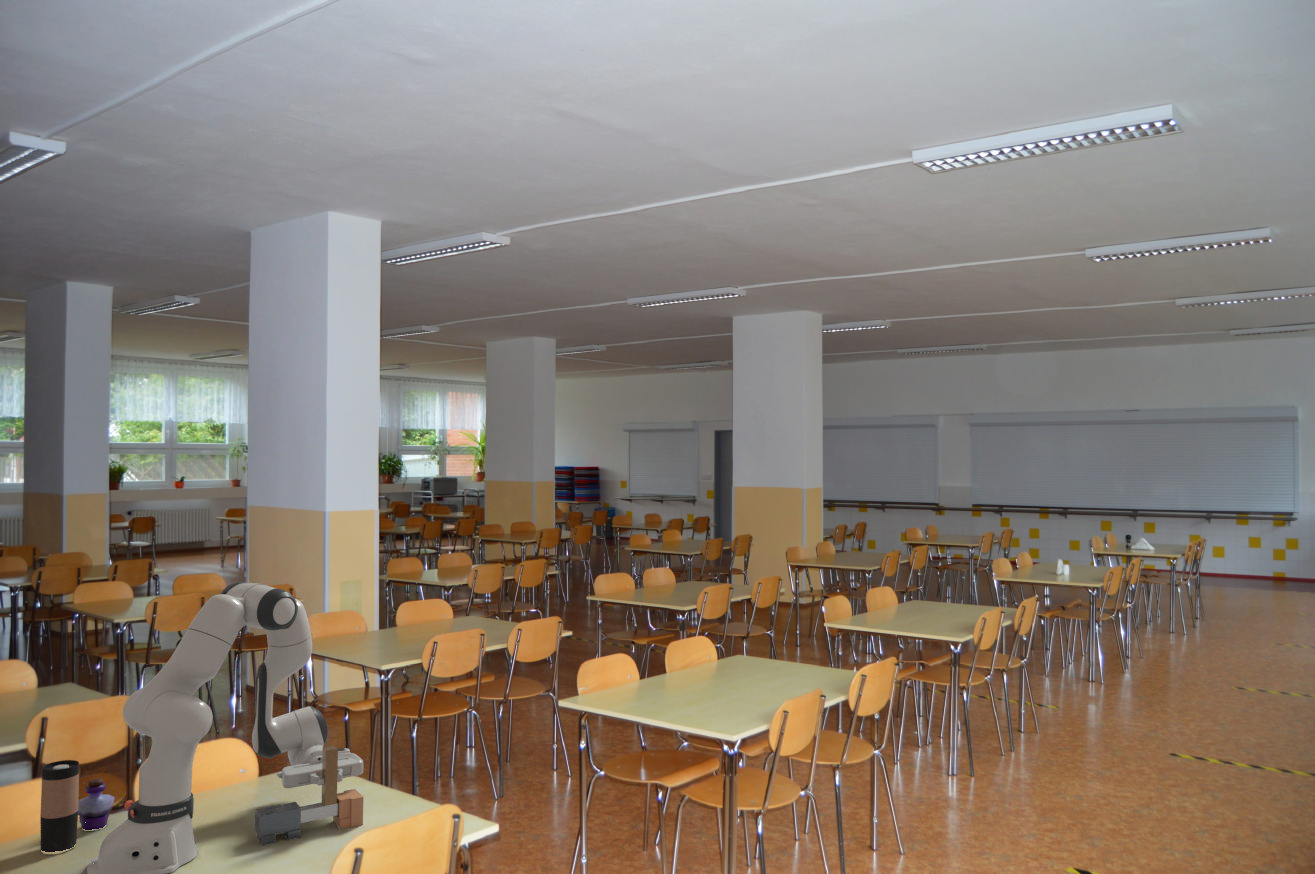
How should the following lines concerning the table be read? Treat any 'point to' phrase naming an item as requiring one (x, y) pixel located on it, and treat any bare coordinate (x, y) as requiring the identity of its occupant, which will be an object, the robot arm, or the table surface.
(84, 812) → the potion bottle
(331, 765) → the upright mallet
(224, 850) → the table surface
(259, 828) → the sleeve
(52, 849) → the travel mug
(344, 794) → the socket block
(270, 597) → the robot arm
